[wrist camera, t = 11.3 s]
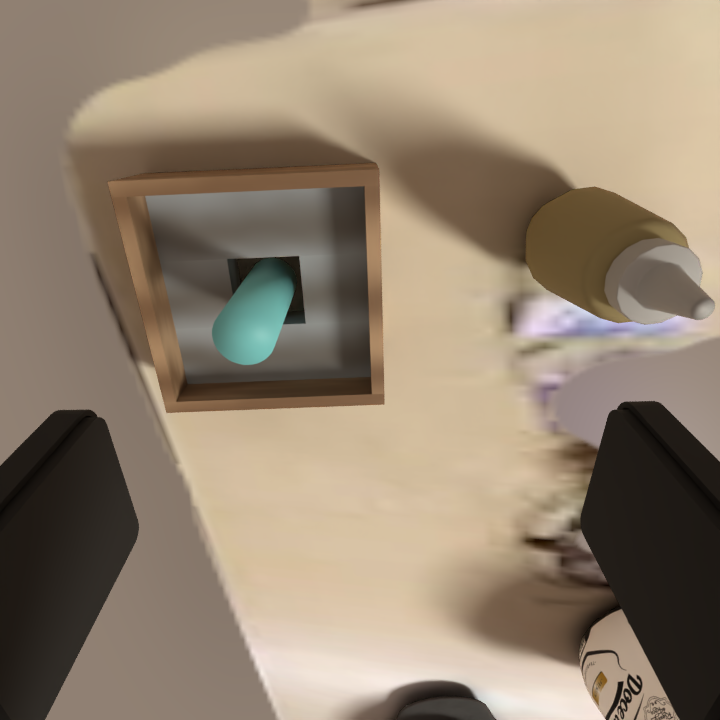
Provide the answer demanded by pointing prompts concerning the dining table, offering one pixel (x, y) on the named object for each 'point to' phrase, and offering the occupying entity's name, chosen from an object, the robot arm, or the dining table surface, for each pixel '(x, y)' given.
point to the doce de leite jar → (621, 672)
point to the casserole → (446, 709)
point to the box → (221, 280)
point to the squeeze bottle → (615, 259)
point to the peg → (255, 313)
